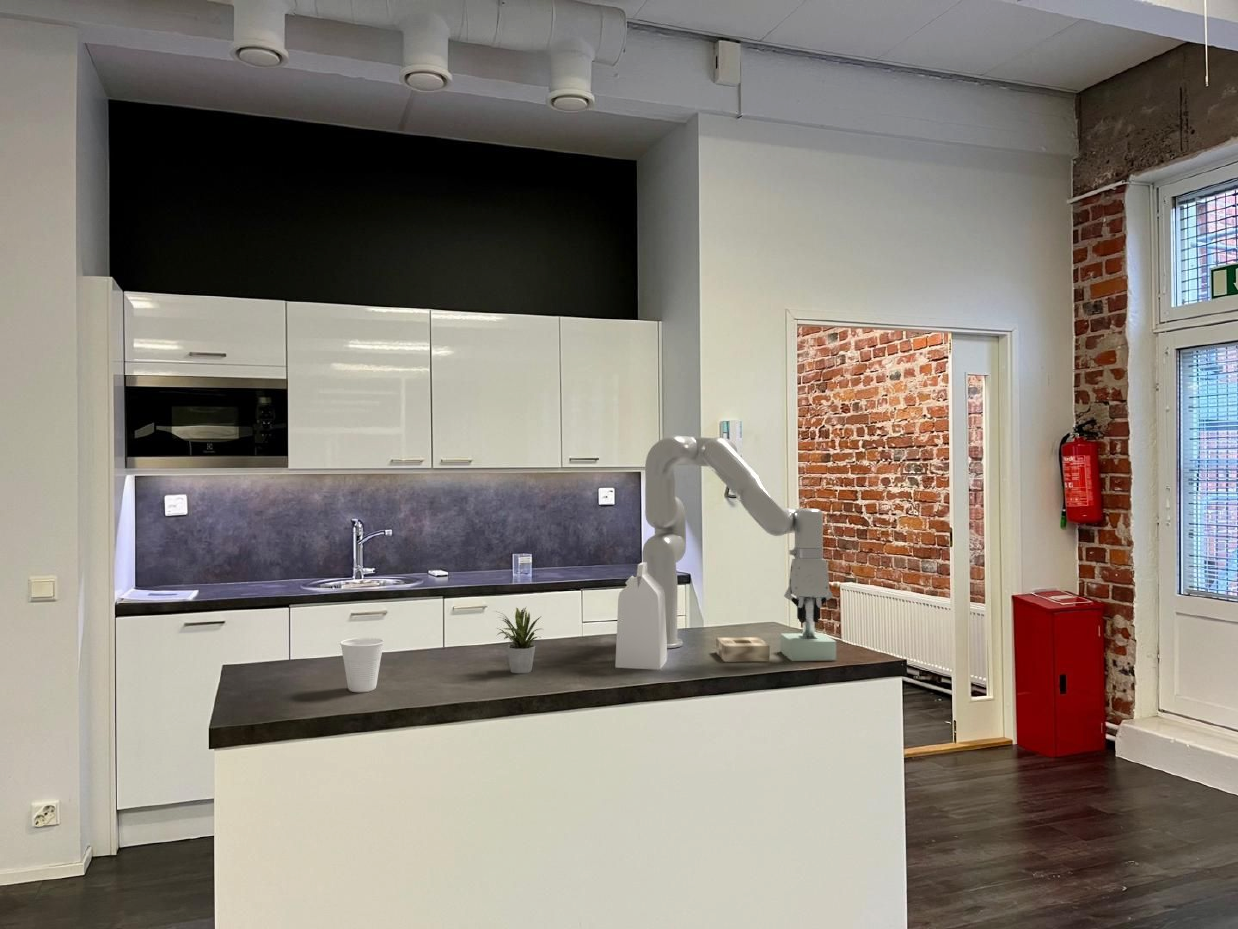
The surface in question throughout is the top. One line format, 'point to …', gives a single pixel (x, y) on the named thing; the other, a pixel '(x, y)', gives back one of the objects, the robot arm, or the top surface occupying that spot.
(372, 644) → the cup
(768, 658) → the mount
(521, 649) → the house plant
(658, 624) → the milk
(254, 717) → the top surface
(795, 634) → the socket
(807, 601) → the pin
